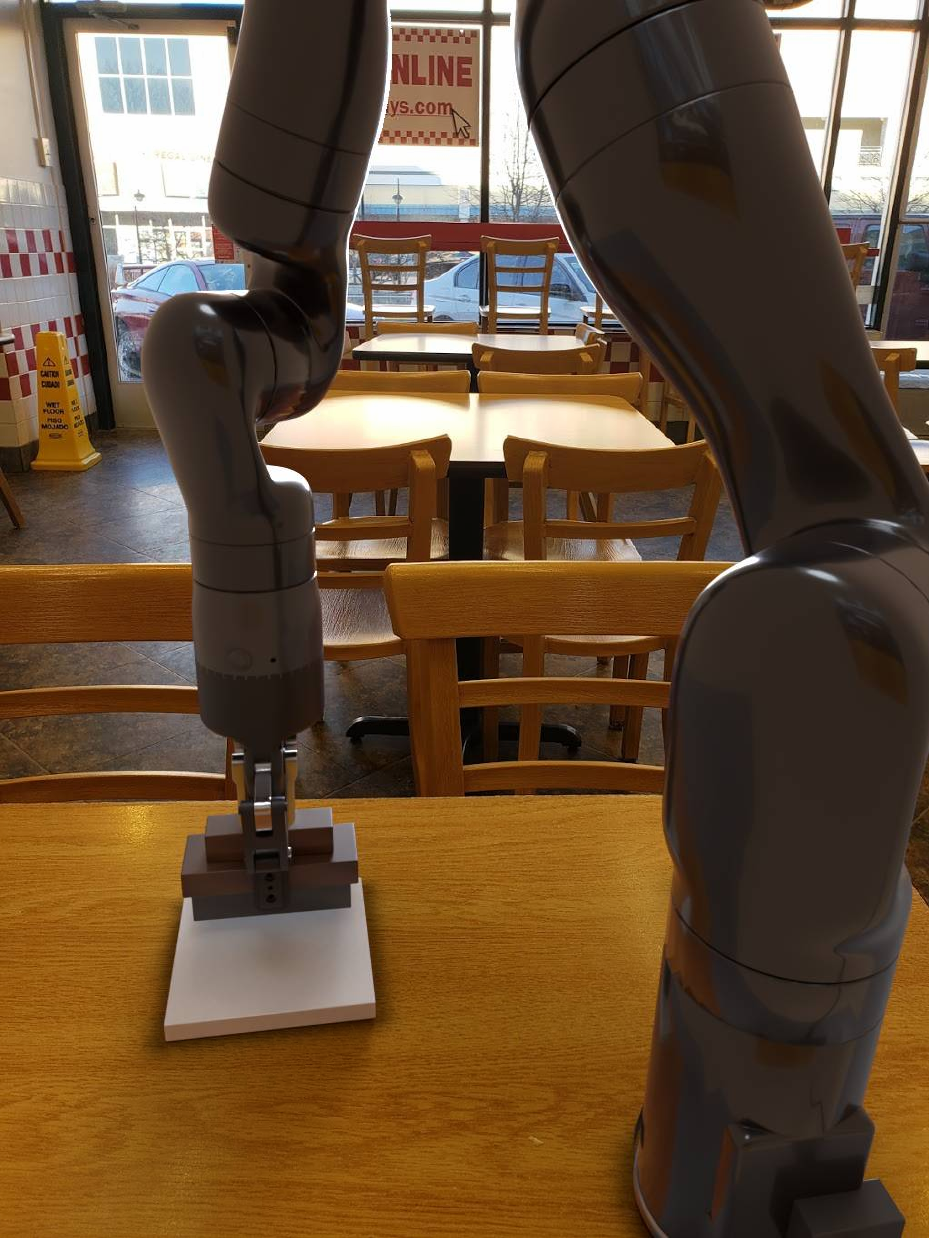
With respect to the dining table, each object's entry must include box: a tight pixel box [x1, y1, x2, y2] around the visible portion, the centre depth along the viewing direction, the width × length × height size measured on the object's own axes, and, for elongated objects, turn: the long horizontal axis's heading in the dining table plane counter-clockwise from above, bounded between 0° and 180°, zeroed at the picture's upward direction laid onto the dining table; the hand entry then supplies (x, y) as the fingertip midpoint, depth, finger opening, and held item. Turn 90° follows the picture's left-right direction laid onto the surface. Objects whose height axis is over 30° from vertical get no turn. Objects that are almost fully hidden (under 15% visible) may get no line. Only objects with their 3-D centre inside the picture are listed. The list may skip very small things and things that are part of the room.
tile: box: [163, 876, 377, 1042], centre depth 60 cm, size 12×12×1 cm
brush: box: [179, 806, 359, 921], centre depth 61 cm, size 11×4×6 cm, turn 100°
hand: (273, 880), depth 62 cm, fingers closed on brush, 4 cm apart
